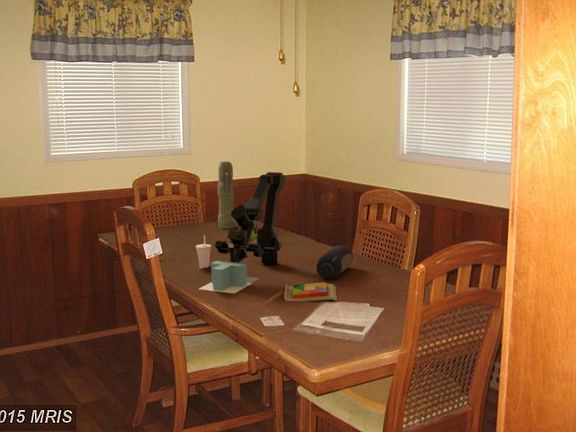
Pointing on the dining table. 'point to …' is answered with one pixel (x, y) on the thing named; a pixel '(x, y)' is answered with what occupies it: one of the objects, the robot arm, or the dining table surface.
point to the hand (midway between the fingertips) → (231, 267)
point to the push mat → (232, 288)
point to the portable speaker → (334, 262)
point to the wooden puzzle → (310, 292)
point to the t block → (228, 275)
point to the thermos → (225, 195)
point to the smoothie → (203, 254)
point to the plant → (254, 234)
